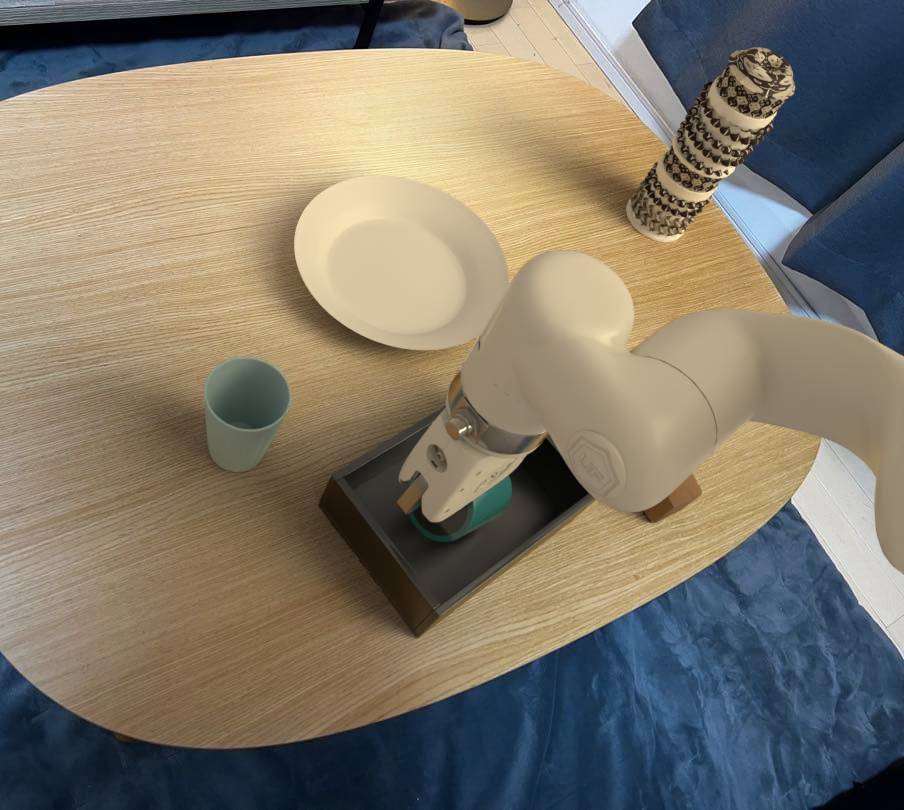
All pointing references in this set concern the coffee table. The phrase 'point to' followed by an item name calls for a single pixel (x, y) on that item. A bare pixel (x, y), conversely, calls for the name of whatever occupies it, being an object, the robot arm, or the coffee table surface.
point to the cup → (244, 410)
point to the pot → (466, 514)
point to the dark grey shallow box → (444, 563)
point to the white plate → (400, 262)
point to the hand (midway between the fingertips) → (427, 507)
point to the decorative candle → (711, 142)
